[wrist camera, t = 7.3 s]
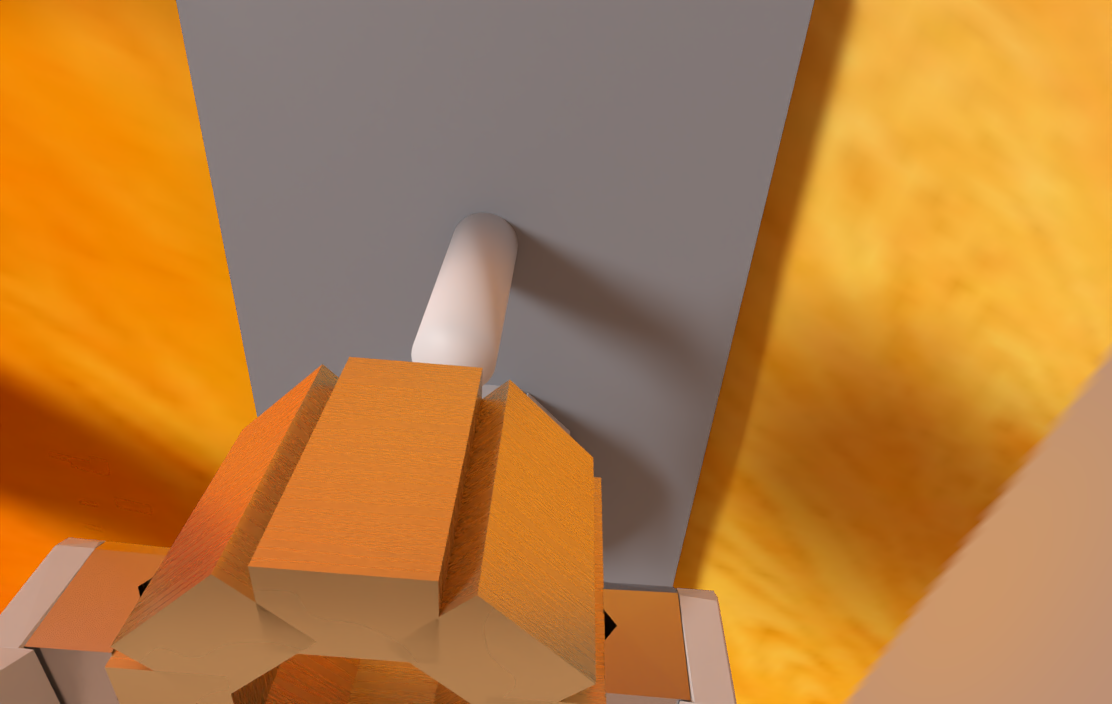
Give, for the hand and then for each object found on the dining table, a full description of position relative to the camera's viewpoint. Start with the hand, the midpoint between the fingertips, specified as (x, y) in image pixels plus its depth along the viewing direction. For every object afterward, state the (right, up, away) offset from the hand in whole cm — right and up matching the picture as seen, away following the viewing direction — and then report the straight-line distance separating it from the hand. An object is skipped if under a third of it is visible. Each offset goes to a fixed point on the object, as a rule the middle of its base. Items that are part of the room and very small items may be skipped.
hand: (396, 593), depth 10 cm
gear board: (0, +4, +11) cm, 12 cm away
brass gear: (0, +1, +1) cm, 2 cm away
